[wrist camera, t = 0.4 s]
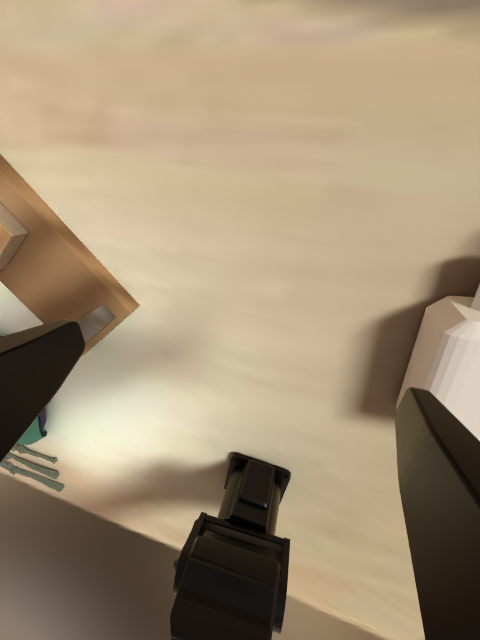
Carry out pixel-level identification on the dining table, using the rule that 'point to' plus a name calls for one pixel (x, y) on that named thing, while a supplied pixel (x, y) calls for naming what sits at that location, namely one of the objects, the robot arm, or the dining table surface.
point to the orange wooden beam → (9, 236)
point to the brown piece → (58, 267)
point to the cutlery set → (29, 438)
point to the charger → (449, 358)
